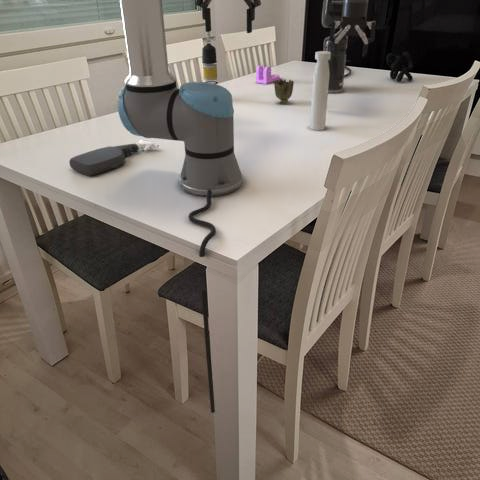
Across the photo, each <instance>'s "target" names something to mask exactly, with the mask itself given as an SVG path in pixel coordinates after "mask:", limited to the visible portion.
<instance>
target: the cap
mask: <svg viewBox="0 0 480 480" xmlns="http://www.w3.org/2000/svg"><path fill="white" fill-rule="evenodd" d="M314 53H315V55H314V60H316V61H317V60H330V57H331V52H328V51H323V50H319V51H315V52H314Z"/></svg>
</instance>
